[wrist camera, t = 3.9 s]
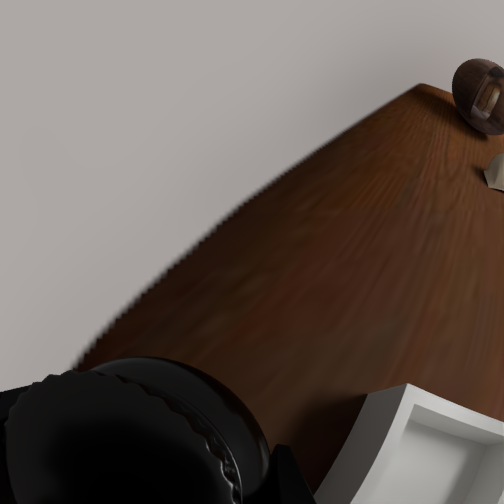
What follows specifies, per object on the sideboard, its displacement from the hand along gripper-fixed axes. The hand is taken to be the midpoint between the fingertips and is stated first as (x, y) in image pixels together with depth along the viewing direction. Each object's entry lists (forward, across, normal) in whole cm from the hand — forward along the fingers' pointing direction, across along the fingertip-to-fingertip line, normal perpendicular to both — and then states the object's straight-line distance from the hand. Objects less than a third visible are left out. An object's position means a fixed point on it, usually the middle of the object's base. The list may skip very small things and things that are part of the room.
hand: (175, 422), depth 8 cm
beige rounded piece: (+28, -31, -18) cm, 46 cm away
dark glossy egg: (+42, -33, -32) cm, 62 cm away
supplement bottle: (+4, 0, +6) cm, 7 cm away
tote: (+2, -14, +8) cm, 16 cm away
